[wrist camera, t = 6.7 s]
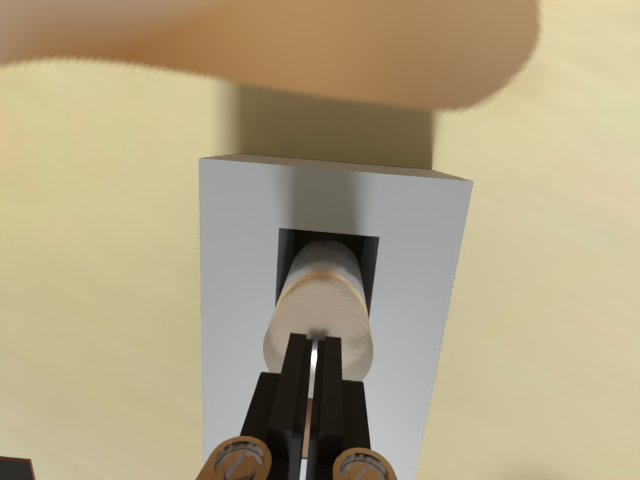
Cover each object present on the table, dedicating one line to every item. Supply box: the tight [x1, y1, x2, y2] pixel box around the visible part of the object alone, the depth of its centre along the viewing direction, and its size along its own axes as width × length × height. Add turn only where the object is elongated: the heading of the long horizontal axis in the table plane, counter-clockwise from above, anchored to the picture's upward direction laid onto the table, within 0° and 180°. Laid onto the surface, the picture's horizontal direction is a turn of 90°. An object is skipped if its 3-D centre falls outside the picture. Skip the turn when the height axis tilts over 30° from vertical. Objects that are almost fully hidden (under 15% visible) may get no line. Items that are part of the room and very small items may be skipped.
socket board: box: [199, 154, 473, 480], centre depth 25 cm, size 14×22×8 cm, turn 175°
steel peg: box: [263, 240, 373, 398], centre depth 16 cm, size 4×4×8 cm
